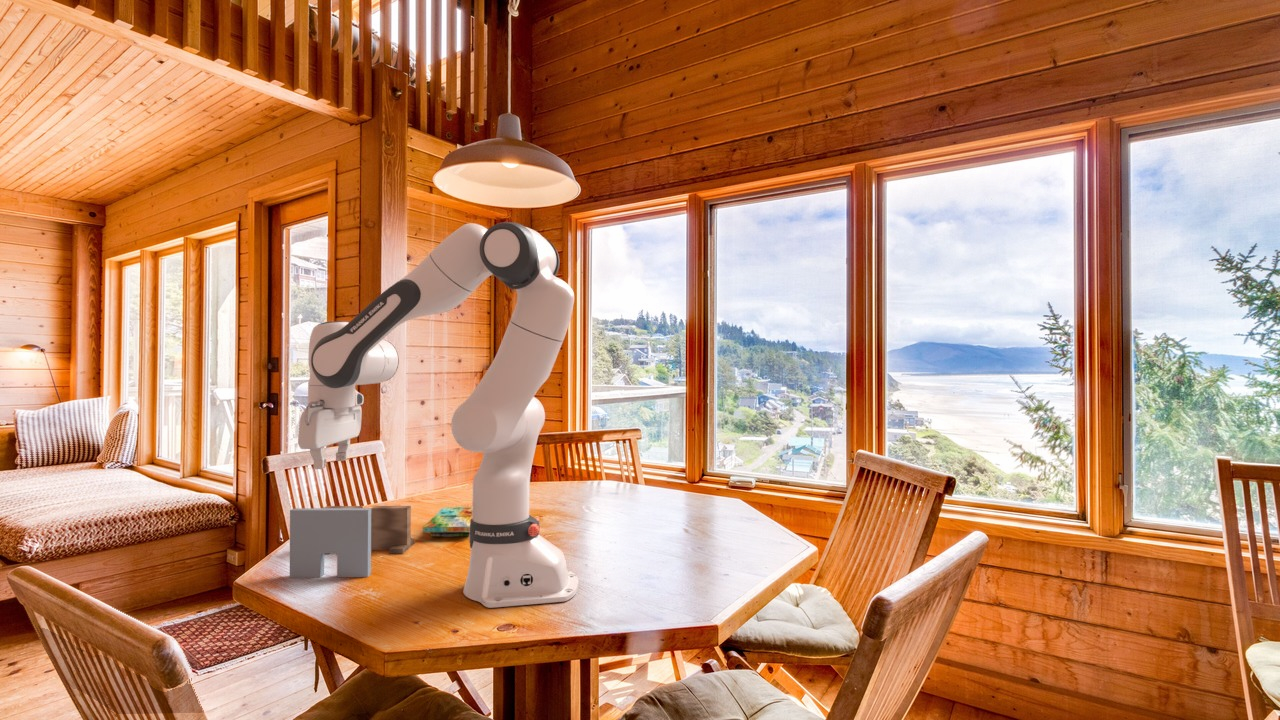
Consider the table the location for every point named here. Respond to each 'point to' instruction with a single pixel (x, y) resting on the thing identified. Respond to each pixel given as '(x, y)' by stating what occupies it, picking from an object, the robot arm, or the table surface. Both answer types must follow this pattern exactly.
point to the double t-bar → (389, 528)
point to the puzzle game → (450, 522)
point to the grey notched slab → (330, 541)
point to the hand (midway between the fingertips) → (330, 464)
